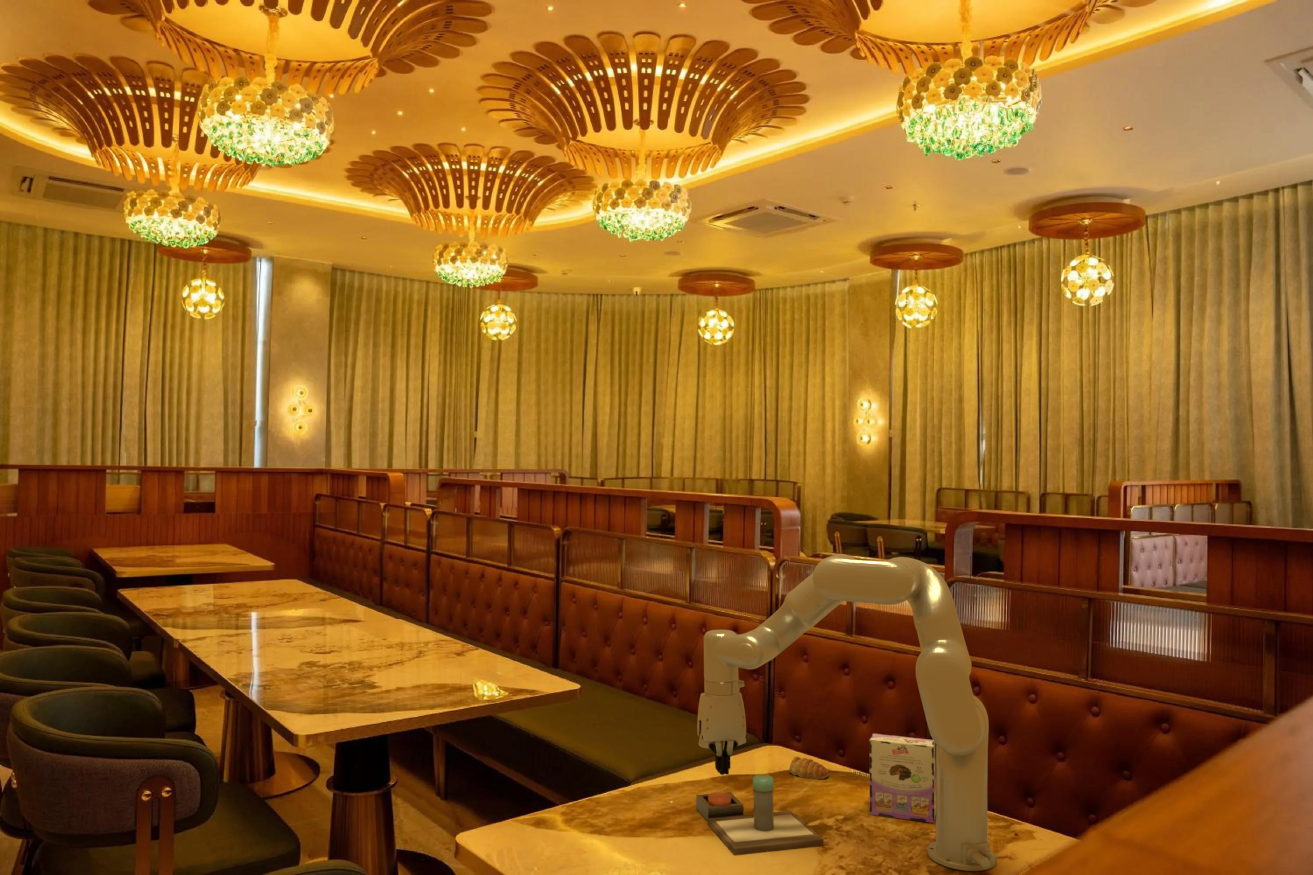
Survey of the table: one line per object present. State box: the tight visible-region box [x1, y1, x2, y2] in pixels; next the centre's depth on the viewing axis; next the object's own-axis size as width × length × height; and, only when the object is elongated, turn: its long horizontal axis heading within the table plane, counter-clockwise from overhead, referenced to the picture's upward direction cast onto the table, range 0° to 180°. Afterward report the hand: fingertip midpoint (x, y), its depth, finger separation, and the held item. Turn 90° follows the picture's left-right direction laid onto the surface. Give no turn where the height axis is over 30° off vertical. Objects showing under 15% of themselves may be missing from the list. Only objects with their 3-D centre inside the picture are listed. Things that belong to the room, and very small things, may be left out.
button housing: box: [695, 791, 744, 821], centre depth 196 cm, size 8×8×3 cm
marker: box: [752, 774, 775, 831], centre depth 185 cm, size 4×4×10 cm
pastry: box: [788, 756, 829, 780], centre depth 223 cm, size 9×7×4 cm
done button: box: [708, 791, 731, 806], centre depth 196 cm, size 5×5×2 cm
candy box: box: [868, 733, 936, 824], centre depth 197 cm, size 14×6×16 cm, turn 69°
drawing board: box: [706, 810, 824, 856], centre depth 185 cm, size 16×19×1 cm
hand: (722, 772), depth 196 cm, fingers closed
